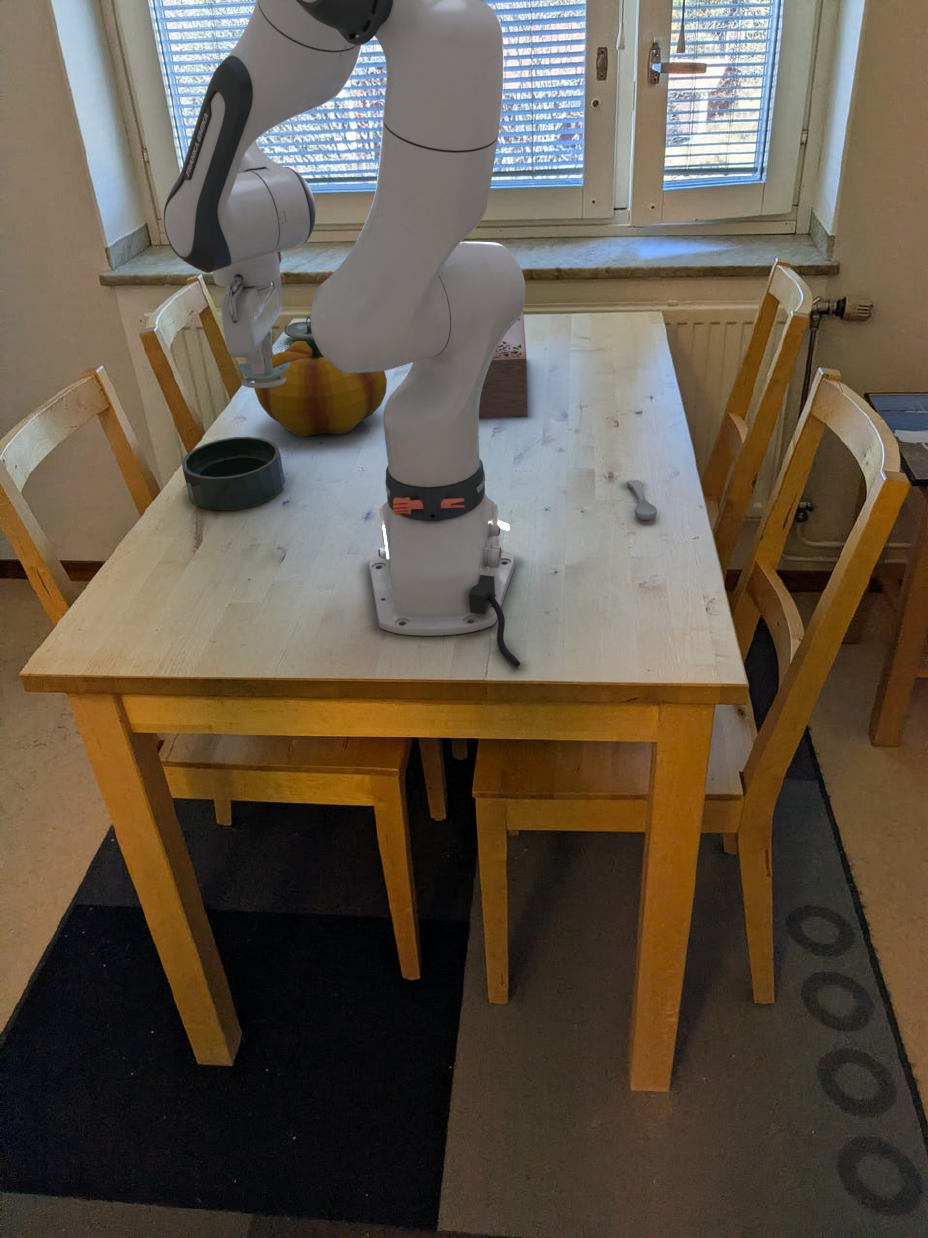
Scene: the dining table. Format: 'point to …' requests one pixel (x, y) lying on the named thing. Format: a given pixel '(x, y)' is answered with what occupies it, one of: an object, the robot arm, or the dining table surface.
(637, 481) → the spoon
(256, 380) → the pacifier
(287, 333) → the lid
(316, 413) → the decorative pumpkin
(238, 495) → the bowl
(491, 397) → the tissue box cover
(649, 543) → the dining table surface
